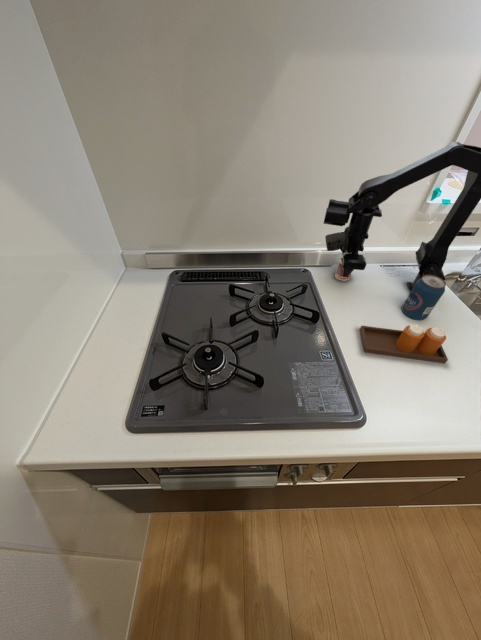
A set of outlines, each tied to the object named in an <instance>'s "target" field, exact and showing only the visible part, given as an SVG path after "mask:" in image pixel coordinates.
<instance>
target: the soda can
mask: <svg viewBox="0 0 481 640" xmlns="http://www.w3.org/2000/svg"><path fill="white" fill-rule="evenodd" d="M446 286H447V283H446V280H443V279H441V278H439V277H437V276H434V275H424V276H423V277H422V278H420V279H419V280H418V281H417V282H416V284H415V285H414V287H413V289H412V291H411V292H410V291H409V294H408V295H407V297H406V299H405V300H404V302H403V304H402V307H401V308H402V312H403V314H404V315H405V316H406V317H407V318H409V319H411V320H414V321H423V320H425V319H427V318H428V317H429V315H431V313H432V311H433V310H434V308H435V307H436V305H437V304H438V302H439V301H440V299H441V298H442V296H443V295H444V293H446Z"/></svg>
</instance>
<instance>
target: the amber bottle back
mask: <svg viewBox="0 0 481 640" xmlns="http://www.w3.org/2000/svg"><path fill="white" fill-rule="evenodd" d="M446 340H447V336H446V332H445V331H444V330H443V328H440V327H436V326H434V327H429V328H427V329H426V330H425V332H424V337H423V338H422V340H421V341H420V342H419V344H418V345H417V347H416V348H417V350H418V351H419V352H421V353H422V354H425V355H433V354H434V353H435V352H436V351H437V350H438V348H439V347H440V346H441V345H442V346H443V343H445V341H446Z"/></svg>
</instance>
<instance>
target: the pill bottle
mask: <svg viewBox="0 0 481 640" xmlns="http://www.w3.org/2000/svg"><path fill="white" fill-rule="evenodd" d="M346 254H347V253H346V252H345V253H343V255H342V254H341V258H343V256H344V255H346ZM341 258H340V259H339V261H338V264H337V266H336V267H337V268H336V271H335V274H334V277H335V278H336V279H337V280H339V281H342V282H346V281H349V280H350V278H351V276H352V272H351V273H350V274H349V275H348V276H347V277H343V270H344V268H343V265H342V261H341Z"/></svg>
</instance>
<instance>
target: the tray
mask: <svg viewBox="0 0 481 640" xmlns="http://www.w3.org/2000/svg"><path fill="white" fill-rule="evenodd" d="M402 332H403V330H398V329H392V328H383V327H377V326H369V325H361V326H360V328H359V333H360V339H361V344H362V349H363V353H364V354H373V355H380V356H387V357H393V358H402V359H409V360H414V361H415V360H417V361H423V362H430V363H438V364H446V363H447V362H448V361H449V359H448V357H447V354H446V352H445V349H444V348H443V344H442V345H441V346H440V347H439V348H438V350H437V351H436V352H435V353H434V354H433V355H425V354H422V353H421V352H419V351H418V350H417V348H415V349H414V351H413V352H410V353H407V352H403V351H401V350H400V349H399V348H398V347H397V346H396V341H397V340H398V338H399V337H400V335H401V333H402Z"/></svg>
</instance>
